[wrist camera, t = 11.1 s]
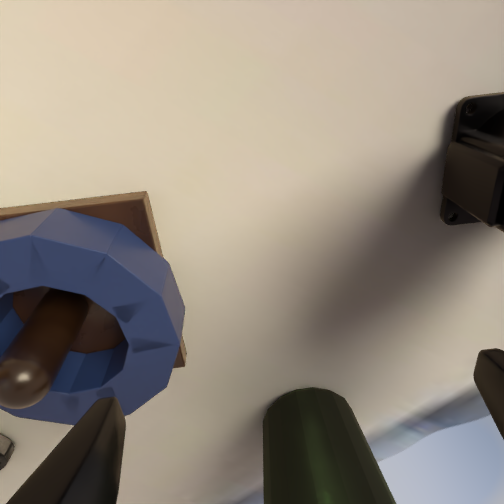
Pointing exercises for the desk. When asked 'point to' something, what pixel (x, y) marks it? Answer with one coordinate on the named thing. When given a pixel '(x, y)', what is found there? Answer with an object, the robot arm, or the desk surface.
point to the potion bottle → (318, 453)
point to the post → (67, 308)
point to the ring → (102, 293)
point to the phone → (5, 450)
